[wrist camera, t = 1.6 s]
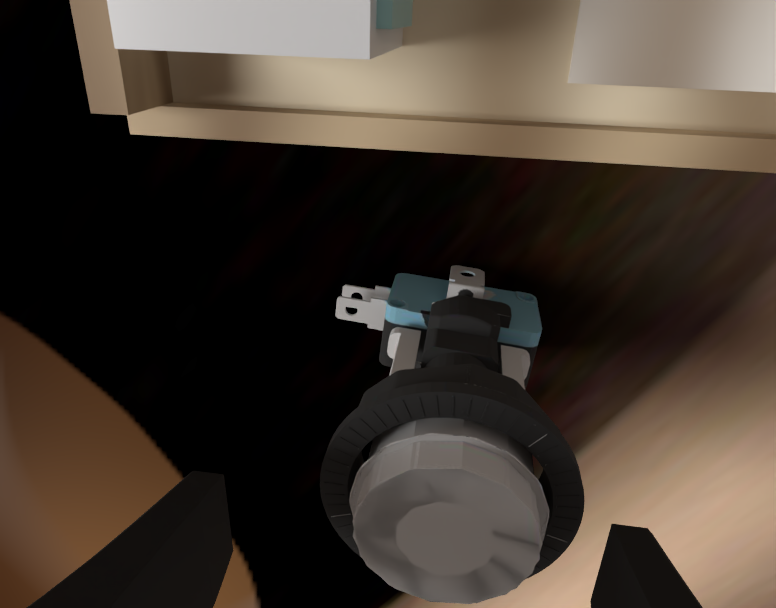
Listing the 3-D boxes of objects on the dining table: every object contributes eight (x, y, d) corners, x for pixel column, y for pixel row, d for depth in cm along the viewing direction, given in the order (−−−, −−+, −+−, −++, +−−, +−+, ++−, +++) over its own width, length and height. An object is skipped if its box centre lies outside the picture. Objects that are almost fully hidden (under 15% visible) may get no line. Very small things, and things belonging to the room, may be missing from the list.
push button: (339, 350, 21) (239, 590, 13) (353, 211, 19) (241, 386, 10) (521, 384, 21) (551, 656, 12) (559, 245, 19) (631, 459, 10)
